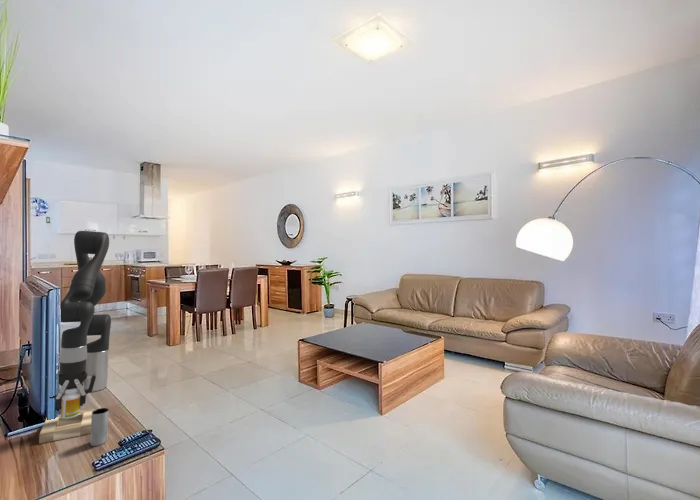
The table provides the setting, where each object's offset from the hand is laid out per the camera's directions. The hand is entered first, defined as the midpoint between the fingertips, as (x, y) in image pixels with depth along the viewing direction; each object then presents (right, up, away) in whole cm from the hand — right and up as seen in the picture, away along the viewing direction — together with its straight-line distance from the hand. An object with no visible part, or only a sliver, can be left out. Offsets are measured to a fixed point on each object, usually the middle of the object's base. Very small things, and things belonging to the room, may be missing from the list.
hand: (70, 406), depth 122 cm
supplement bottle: (0, -3, 0) cm, 3 cm away
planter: (+15, -8, -8) cm, 19 cm away
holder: (0, -8, 0) cm, 8 cm away
